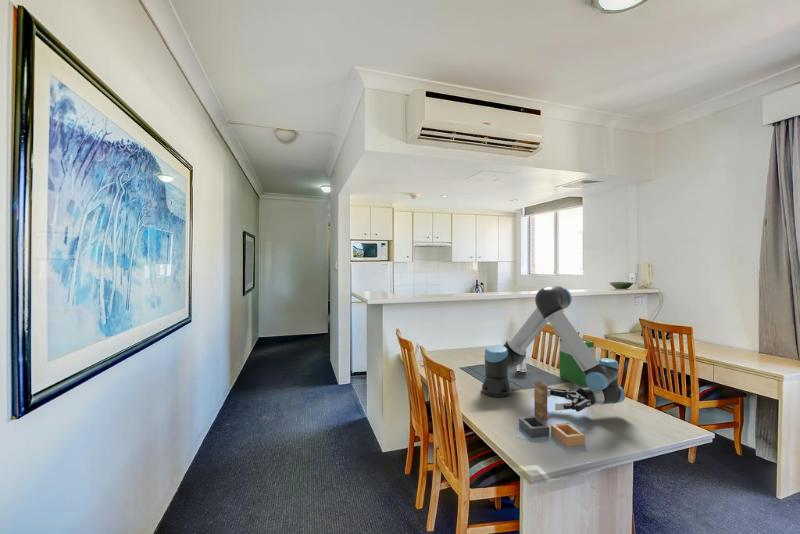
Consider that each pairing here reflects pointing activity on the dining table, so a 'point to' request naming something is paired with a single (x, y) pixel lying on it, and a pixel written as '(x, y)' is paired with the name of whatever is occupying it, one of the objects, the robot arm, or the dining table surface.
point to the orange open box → (571, 439)
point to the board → (547, 439)
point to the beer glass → (522, 364)
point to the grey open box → (536, 431)
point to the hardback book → (572, 364)
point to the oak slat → (540, 400)
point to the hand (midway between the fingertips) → (545, 400)
